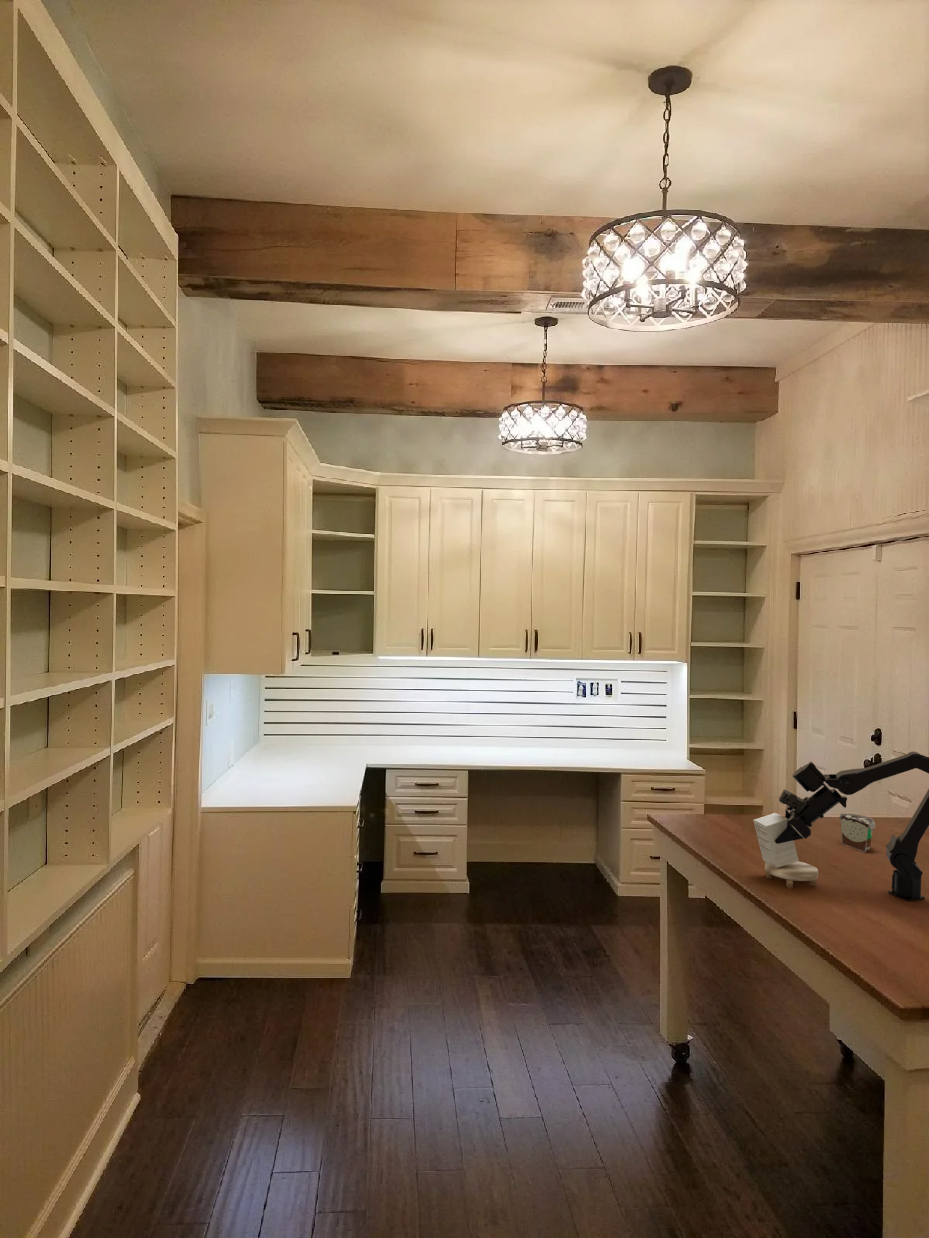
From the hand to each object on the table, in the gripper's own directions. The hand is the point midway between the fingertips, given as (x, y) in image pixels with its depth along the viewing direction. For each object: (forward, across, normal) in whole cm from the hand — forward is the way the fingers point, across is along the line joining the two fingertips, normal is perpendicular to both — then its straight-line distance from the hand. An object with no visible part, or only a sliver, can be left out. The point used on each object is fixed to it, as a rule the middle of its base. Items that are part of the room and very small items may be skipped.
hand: (775, 837), depth 226 cm
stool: (+5, +1, +11) cm, 12 cm away
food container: (-11, -45, +28) cm, 54 cm away
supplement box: (+4, 0, +6) cm, 7 cm away
